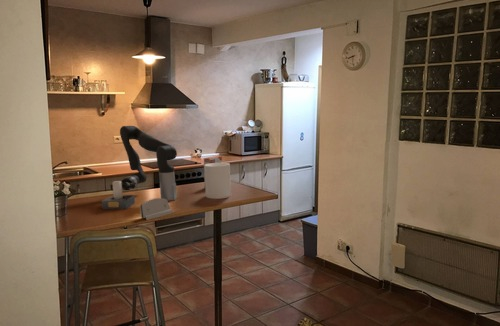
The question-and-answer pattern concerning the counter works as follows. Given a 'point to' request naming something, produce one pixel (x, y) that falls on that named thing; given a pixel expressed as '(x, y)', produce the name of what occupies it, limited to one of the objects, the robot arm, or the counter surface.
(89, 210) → the counter surface
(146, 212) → the hinge
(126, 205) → the socket block
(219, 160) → the cracker box
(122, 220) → the counter surface
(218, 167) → the canister
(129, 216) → the counter surface
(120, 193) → the peg
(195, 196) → the counter surface
